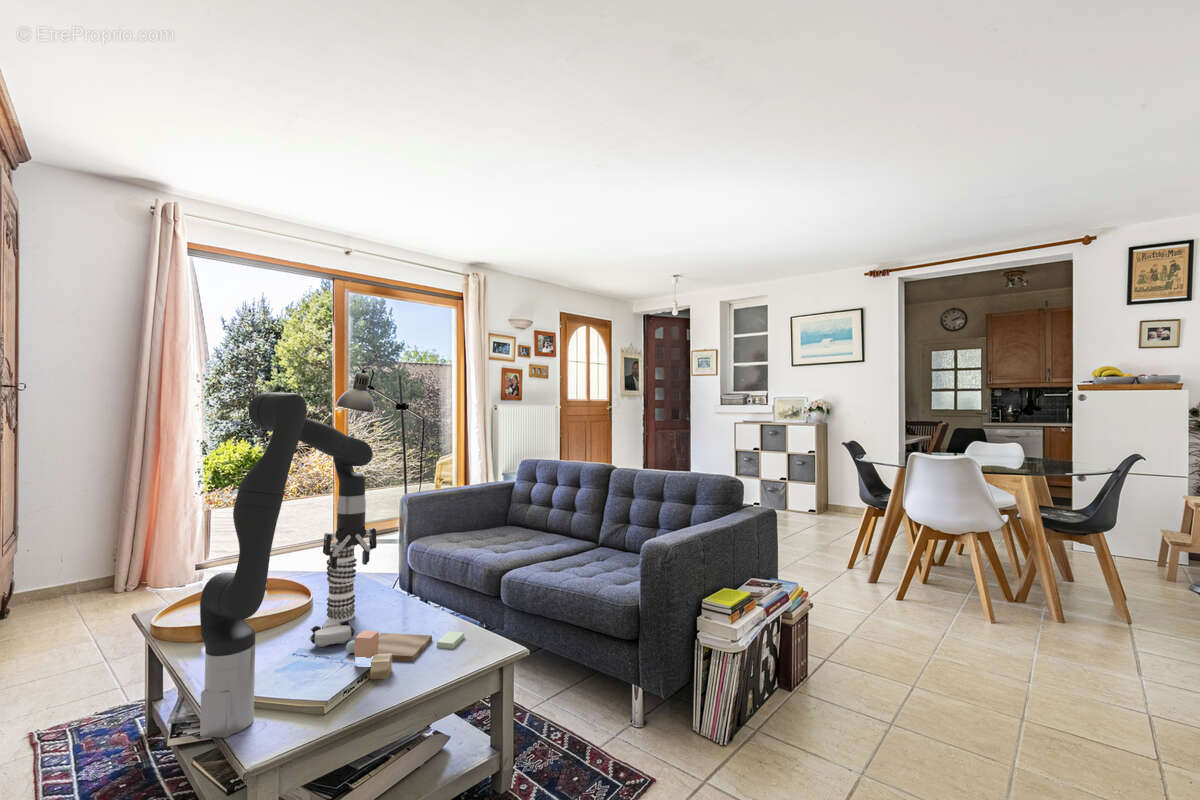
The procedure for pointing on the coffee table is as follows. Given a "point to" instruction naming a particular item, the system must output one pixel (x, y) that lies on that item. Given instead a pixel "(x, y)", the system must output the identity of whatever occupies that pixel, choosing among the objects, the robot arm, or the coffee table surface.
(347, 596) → the grey banded tower model
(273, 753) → the coffee table surface
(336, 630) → the robot toy
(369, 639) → the terracotta block
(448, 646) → the sage flat block
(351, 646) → the grey ball
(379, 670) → the beech cube
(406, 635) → the walnut board
